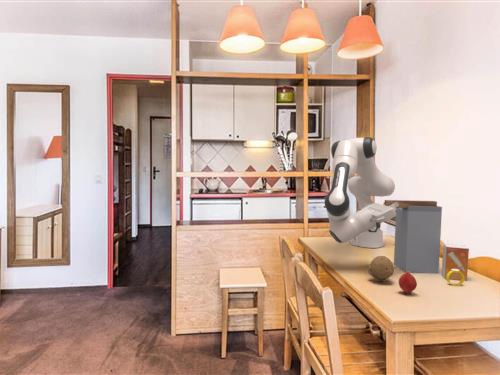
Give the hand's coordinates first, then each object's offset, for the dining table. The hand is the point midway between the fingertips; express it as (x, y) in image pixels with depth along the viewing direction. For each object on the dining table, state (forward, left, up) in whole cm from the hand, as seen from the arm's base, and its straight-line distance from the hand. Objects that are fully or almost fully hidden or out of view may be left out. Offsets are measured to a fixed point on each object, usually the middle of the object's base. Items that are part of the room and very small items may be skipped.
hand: (395, 203), depth 155 cm
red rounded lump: (+28, -7, -29) cm, 41 cm away
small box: (+9, +21, -29) cm, 37 cm away
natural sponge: (+15, -11, -29) cm, 35 cm away
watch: (+18, +16, -29) cm, 38 cm away
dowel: (0, +7, -2) cm, 7 cm away
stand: (-3, +11, -29) cm, 31 cm away
